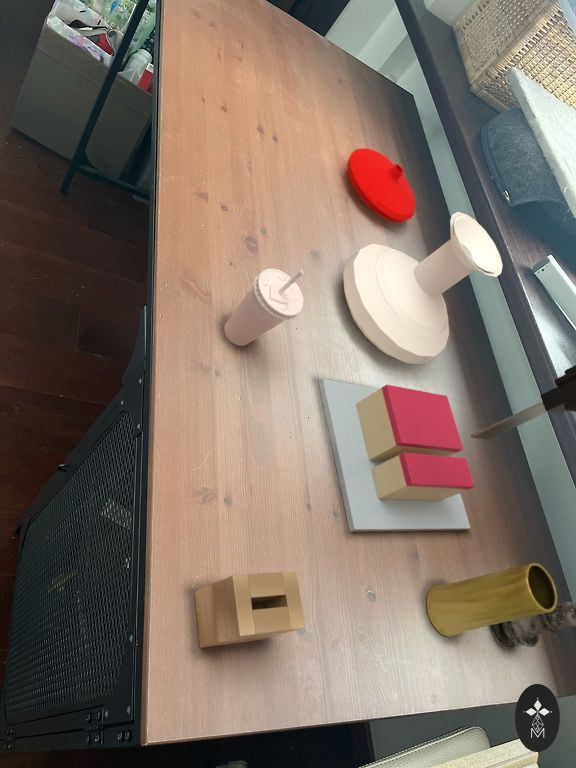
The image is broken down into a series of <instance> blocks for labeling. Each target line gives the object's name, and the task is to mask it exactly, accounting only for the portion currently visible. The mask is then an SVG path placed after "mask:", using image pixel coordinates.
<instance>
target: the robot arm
mask: <svg viewBox="0 0 576 768" xmlns="http://www.w3.org/2000/svg"><path fill="white" fill-rule="evenodd" d="M563 372H564V374H563V375H561V376H559V377H557V378H555V379H554V384H555V386H556V387H558V386H561V385H563V384H565V383H567V382H569V381H571V380H573V379H575V378H576V364H575V365H572V366H571V367H569V368H567V369H565V370H564V371H563ZM564 403H565V404H564V407H565V409H566V410H567V411H570V412H573V413H574V412H575V413H576V397H574V398H572V399H570V400H568V401H566V402H564Z"/></svg>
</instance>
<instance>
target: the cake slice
mask: <svg viewBox="0 0 576 768" xmlns="http://www.w3.org/2000/svg"><path fill="white" fill-rule="evenodd" d="M371 471H372V475H373V479H374V483H375V488H376V492H377V496H378V499H396V500H427V501H441V500H444V499H446V498H449V497H451V496H454V495H456V494H459V493H460V494H461V493H464V492H466V491H468V490H471V489H473V488H474V489H475V485H474V484H475V483H474V481H473V477H472V474H471V470H470V468H469V464H468V460H467V458H466V457H456V456H455V457H454V456H450V457H447V456H437V455H427V454H416V453H406V452H404V453H402V454H400V455H398V456H396V457H394V458H392V459H390V460H388V461H386V462H384V463H382V464H380V465H378V466H376V467H374V468H372V469H371Z"/></svg>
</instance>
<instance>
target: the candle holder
mask: <svg viewBox="0 0 576 768" xmlns="http://www.w3.org/2000/svg"><path fill="white" fill-rule="evenodd" d="M449 228H450V239H449V240H447V241H446V242H445V243H443V244H442V245H441V246H440V247H438V248H436V250H435V251H433V252H432V253H431V254H429V255H428V256H427V257H425V259H423V260H421V262H419V261H418V260H417V259H415V258H413V257H411V256H409V255H408V254H406V253H404V252H402V251H400V250H397V249H394V248H392V247H390V246H386V245H381V244H377V243H371V244H369V245H367V246H364V247H362V248H361V249H359V250H358V251H357V252H355V253H354V254H353V255H352V256H351V257H350V258H349V260H348V261H347V263H346V266H345V267H344V268H343V270H342V276H343V290H344V291H343V292H344V296H345V299H346V303H347V306H348V308H349V312H350V314H351V317H352V320H353V322H354V323H355V324H356V326H357V327H358V328H359V330H360V331H361V332H362V334H363V336H364V337H365V338H366V339H368V341H369V342H371V343H372V344H373V345H374V346H375V347H376V348H377V349H378V350H380V351H382V353H384V354H386V355H388V356H390V357H393V358H395V359H397V360H399V361H402V362H403V363H406V364H421V365H423V364H426V363H427V362H429V361H431V360H432V359H434V358H435V357H437V356H438V355H439V354H440V353H441V352H442V351H444V349H446V347H447V343H448V340H449V335H450V326H449V315H448V311H447V304H446V302H445V299H444V296H443V293H444V292H446V291H447V290H450V289H451V288H452V287H453V286H454V285H456V284H457V283H459V282H460V281H462V280H463V279H464V278H466V277H468V276H469V275H470V274H472V273H474V271H475V272H477V273H480V274H483V275H485V276H486V275H487V276H489V277H494V278H497V277H498V276H500V275H501V274H502V272H503V271H502V270H503V266H504V265H503V261H502V257H501V254H500V252H499V249H498V248H497V246H496V244H495V242H494V241H493V238H492V237H490V235H489V233H488V231H486V229H485V228H484V227H483V226H482V225H481V224H479V222H478V221H477V220H476V219H474V218H473V217H471V216H470V215H468V214H466V213H462V212H461V211H460V212H459V211H456V212H454V213H452V215H451V218H450V221H449Z"/></svg>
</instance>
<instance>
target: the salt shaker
mask: <svg viewBox="0 0 576 768" xmlns="http://www.w3.org/2000/svg"><path fill="white" fill-rule="evenodd" d="M571 627H576V603H574V602H572V601H563V602H559V603H558V602H557V605H556V607H555V609H554V610H553V611H552V612H548V613H542V614H537V615H534V616H530V617H525V618H521V619H516V620H511V621H506V622H502V623H498V624H493V625H489V628H490V631H491V634H492V636H493V638H494V640H495V642H496V643H497V644H498V645H499V646H500V647H502V648H503V649H511V648H512V649H513V647H514V646H515V644H516V645H519V646H524V647H527V648H534V647H536V646H537V645H538V644H539V642H540V638H541V634H544V633H548V632H551V633H553V634H557V633H559V632H560V631H561V629H566V628H571Z"/></svg>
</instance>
